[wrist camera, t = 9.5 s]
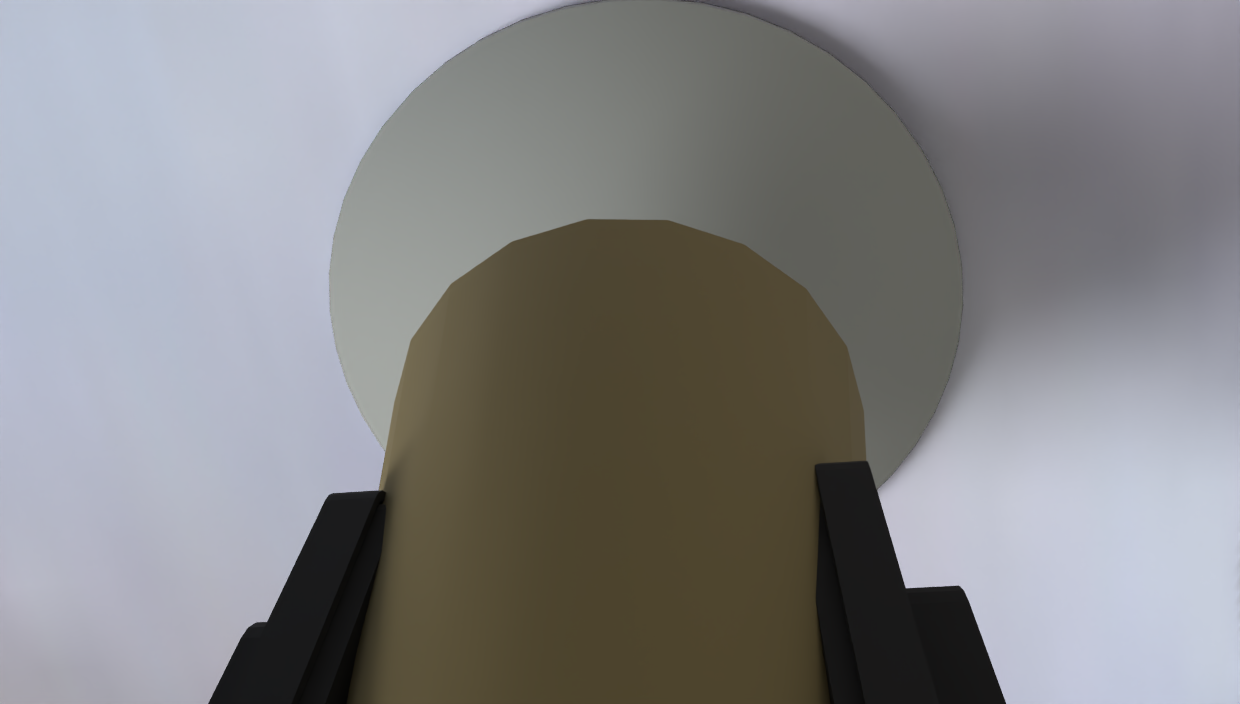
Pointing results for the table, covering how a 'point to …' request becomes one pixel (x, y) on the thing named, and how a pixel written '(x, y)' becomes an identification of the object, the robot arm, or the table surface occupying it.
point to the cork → (609, 479)
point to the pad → (657, 187)
